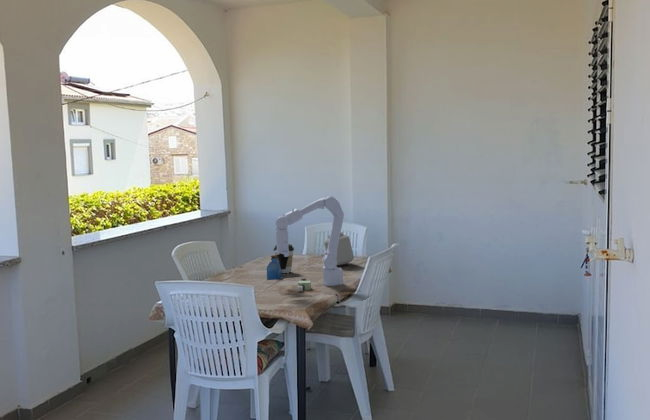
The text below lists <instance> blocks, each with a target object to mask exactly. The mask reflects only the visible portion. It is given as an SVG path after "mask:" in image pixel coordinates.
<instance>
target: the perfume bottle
mask: <svg viewBox="0 0 650 420" xmlns="http://www.w3.org/2000/svg"><path fill="white" fill-rule="evenodd" d="M270 257H271V258H270V262H269V263H268V265H267V267H266V280H268V279H269V280H270V281H274V280H281V279H282V278H283V274H282V270H281V268H280V264H279V262H277V260H278V258H277V256H276V255H275V254H274V255H271V256H270Z"/></svg>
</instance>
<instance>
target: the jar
mask: <svg viewBox="0 0 650 420" xmlns="http://www.w3.org/2000/svg"><path fill="white" fill-rule="evenodd" d="M329 238H330V234H329V235H327V238H326V239H325V240H324V241H323V242H324V247H325V252H326V251H327V248H328V243H329ZM354 258H355V257H354V252H353V247H352V244H351V240H350V236H349V235H348V234H344V232H343V231H341V233H340V238H339V243H338V248H337V257H336V259H337V266H343V265H347V264H349V263H351V262H353V260H354ZM321 259H322V260H323V257H322V258H321Z"/></svg>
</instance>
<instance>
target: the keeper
mask: <svg viewBox="0 0 650 420" xmlns="http://www.w3.org/2000/svg"><path fill="white" fill-rule="evenodd" d="M297 282H298V283H297V285H305V290H310V289H311V285H312V281H311V280H307V281H301V280H299V281H297Z"/></svg>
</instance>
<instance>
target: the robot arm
mask: <svg viewBox="0 0 650 420" xmlns="http://www.w3.org/2000/svg"><path fill="white" fill-rule="evenodd" d="M318 209H321V210H325V209H326V210H328V211H329V212H330V213H331V214H332V216H333V219H332V224H331V227H330V233H329V235H330V238H329V243H328V248H327V251H326V250H325V254H324V255H323V257H322V264H323V265H324V266H323V267H322V284H323V286H326V287H327V286H328V287H333V286H340V285H344V273H343V269H342V268H341V267H338V265H337V259H336V257H337V248H338V243H339V238H340V233H341V232H342V226H343V222H344V217H345V214H344V211H343V209H342V206H341V204H340V202H339V200H338V199H336V197H334V196H333V195H327V196H325V197H321V198H319V199H317V200H315V201H313V202H311V203H309V204H307V205H306V206H304V207H303V208H301V209H299V208H292V209H291V211H288V212H287V213H283V214H282V215H280V216H278V217H277V218H276V219H275V225H276V228H275V229H276V232H275V236H276V237H275V238H276V239H275V240H276V245H277V250H276V251H273V252H274V254H275V253H280V254H279V255H276V256H277V258H278V260H279V264H280V268H281V270H283V269H286V265H287V261H288V258H289V248H288V244H289V232H288V231H289V230H288V226H291V225H292V224H296V223H297V222H299V221H301V220H302V219H303V216H304V215H306V214H309V213H311V212H313V211H316V210H318Z"/></svg>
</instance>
